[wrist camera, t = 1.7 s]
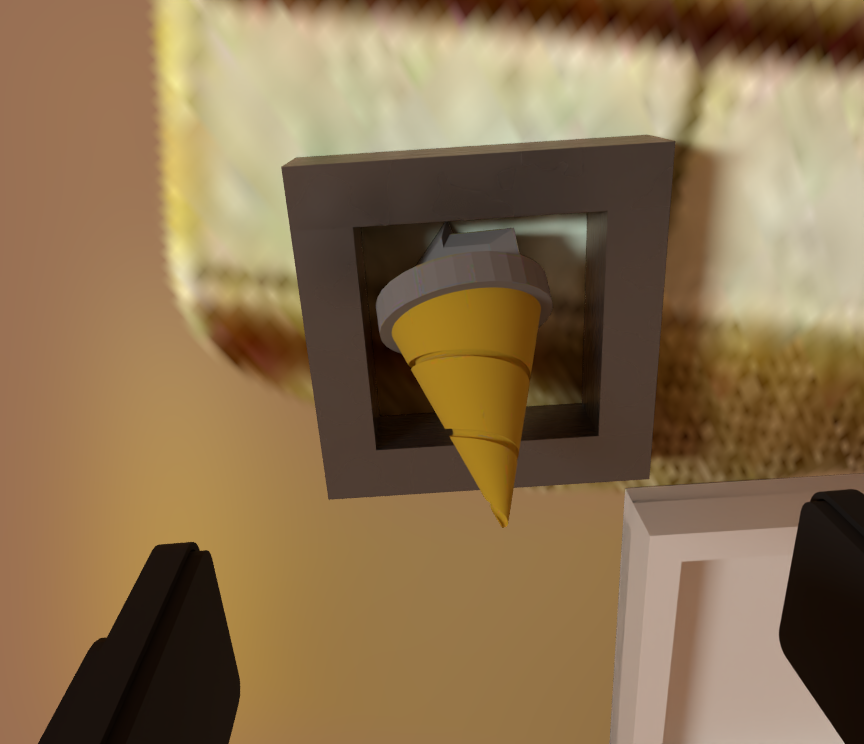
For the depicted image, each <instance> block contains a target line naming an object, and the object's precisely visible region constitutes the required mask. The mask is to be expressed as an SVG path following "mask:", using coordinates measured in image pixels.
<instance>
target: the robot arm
mask: <svg viewBox="0 0 864 744" xmlns="http://www.w3.org/2000/svg"><path fill="white" fill-rule="evenodd" d="M779 641H780V645H781V648H782V651H783V653H784V655H785V657H786V658H787V660H788V661H789V663H790V664H791V666H792V667H793V669H794V670H795V672H796V673H797V675H798V676H799V677H800V679H801V680H802V682H803V683H804V685H805V686H806V688H807V689H808V691H809V692H810V694H811V695H812V696H813V698H814V699H815V701H816V702H817V704H818V705H819V707H820V708H821V710H822V711H823V713H824V714H825V716H826V717H827V718H828V720H829V721H830V723H831V724H832V726H833V727H834V729H835V730H836V732H837V733H838V735H839V736H840V737H841V739H842V740H843V742H844V743H845V744H864V494H863V493H861V492H860V491H858V490H855V489H846V490H833V491H821V492H817V493H815V494H814V495H813V496H812V497H811V500H810V502H806V503H804V505H803V506H802V508H801V512H800V518H799V523H798V529H797V534H796V539H795V545H794V550H793V556H792V561H791V567H790V572H789V578H788V583H787V589H786V594H785V600H784V605H783V611H782V616H781V622H780V627H779ZM239 698H240V679H239V674H238V669H237V665H236V661H235V656H234V652H233V647H232V643H231V639H230V634H229V630H228V626H227V621H226V617H225V613H224V608H223V604H222V600H221V595H220V591H219V587H218V582H217V578H216V574H215V569H214V565H213V561H212V557H211V554H210V552H209V551H207V550H205V551H200V550H199V547H198V546H197V544H196V543H194V542H187V543H174V544H162V545H157V546H155V548H154V549H153V550H152V552H151V554H150V556H149V558H148V560H147V562H146V564H145V565H144V567H143V569H142V571H141V573H140V575H139V577H138V579H137V581H136V583H135V585H134V587H133V589H132V590H131V592H130V594H129V596H128V598H127V600H126V602H125V604H124V606H123V608H122V610H121V612H120V614H119V615H118V617H117V619H116V621H115V623H114V625H113V627H112V629H111V631H110V633H109V635H108V637H107V638H100V639H99V640H97V641H96V642H94V644H93V645H92V646H91V648H90V649H89V650H88V652H87V654H86V656H85V658H84V660H83V661H82V663H81V665H80V667H79V669H78V671H77V673H76V674H75V676H74V678H73V680H72V682H71V683H70V685H69V687H68V689H67V691H66V693H65V695H64V696H63V698H62V700H61V702H60V704H59V706H58V708H57V709H56V711H55V713H54V715H53V717H52V719H51V720H50V722H49V724H48V726H47V728H46V730H45V732H44V734H43V735H42V737H41V739H40V741H39V743H38V744H228V743H229V740H230V736H231V732H232V728H233V723H234V720H235V715H236V712H237V707H238V704H239Z"/></svg>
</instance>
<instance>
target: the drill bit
mask: <svg viewBox="0 0 864 744" xmlns="http://www.w3.org/2000/svg"><path fill="white" fill-rule="evenodd" d="M552 308H553V305H552V299H551V295H550V291H549V286H548V282H547V278H546V274H545V271H544V270H543V268H542V267H541V265H539V264H538V263H537V262H535V261H534V260H532V259H530V258H528V257H525V256H522V255H520V253H519V249H518V244H517V240H516V236H515V231H514V228H507V229H497V230H487V231H477V232H467V233H458V234H453V232H452V230H451V228H450V226H449V224H448V221H446V222H445V223H444V225H443V226H442V228H441V229H440V231H439V232H438V234H437V235H436V237H435V238H434V240H433V241H432V243H431V244H430V246H429V247H428V249H427V250H426V252H425V253H424V255H423V256H422V258H421V259H420V261H419V262H418V264H417V265H416V266H415V267H413V268H411V269H409V270H407V271H405V272H403V273H402V274H400V275H399V276H397V277H396V278H395V279H393V280H392V281H390V282H389V283H388V284H387V285H386V286H385V287H384V288H383V289H382V291H381V293H380V294H379V296H378V298H377V302H376V311H377V318H378V326H379V333H380V337H381V341H382V342H383V343H384V344H385V345H386V347H388V348H390V349H391V350H393V351H395V352H398V353H400V354H402V355H403V357H404V358H405V360H406V362H407V364H408V365H409V367H411V368H412V369H411V371H412V372H413V374H414V376H415V377H416V379H417V381H418V383H419V384H420V386H421V388H422V390H423V391H424V393H425V395H426V397H427V398H428V400H429V402H430V404H431V405H432V407H433V409H434V411H435V412H436V414H437V416H438V417H439V419H440V421H441V423H442V424H443V426H444V428H445V429H452V430H453V435H450V436H449V437H450V438H451V440H452V442H453V444H454V445H455V447H456V449H457V451H458V452H459V454H460V456H461V457H462V459H463V461H464V463H465V464H466V466H467V468H468V470H469V471H470V473H471V475H472V477H473V478H474V480H475V482H476V484H477V485H478V487H479V489H480V490H481V492H482V494H483V496H484V497H485V499H486V500H487V501H488V502H490V503H491V509H492V511H493V513H494V515H495V517H496V518H497V520H498V522H499V523H500V525H501V527H502V528H504V527H506V526H507V525H508V520H509V514H510V508H511V501H512V495H513V488H514V482H515V475H516V469H517V459H518V456H519V449H520V443H521V436H522V430H523V423H524V417H525V410H526V404H527V397H528V391H529V382H530V378H531V371H532V365H533V358H534V352H535V345H536V339H537V332H538V328H539V327H540V326H541V325H542V324H543V323H544V322H546V320H547V319H548V317H549V316H550V314H551V312H552Z"/></svg>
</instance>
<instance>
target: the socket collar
mask: <svg viewBox="0 0 864 744" xmlns="http://www.w3.org/2000/svg"><path fill="white" fill-rule="evenodd" d="M674 151H675V141H672V140H668V139H663V138H659V137H655V136H650V135H636V136H621V137H605V138H590V139H575V140H559V141H544V142H529V143H513V144H498V145H482V146H467V147H452V148H436V149H421V150H406V151H390V152H375V153H360V154H344V155H329V156H314V157H298V158H294V159H293V160H291V161H290V162H288V163H287V164H285V165H283V166H282V167H281V168H282V175H283V182H284V189H285V196H286V203H287V210H288V217H289V224H290V231H291V238H292V245H293V252H294V259H295V266H296V273H297V280H298V287H299V295H300V302H301V309H302V316H303V323H304V330H305V337H306V344H307V351H308V358H309V365H310V372H311V379H312V386H313V393H314V400H315V407H316V414H317V421H318V428H319V435H320V442H321V449H322V456H323V463H324V470H325V477H326V484H327V491H328V499H344V498H359V497H376V496H390V495H406V494H421V493H436V492H453V491H468V490H480V489H479V487H478V485H477V484H476V482H475V480H474V478H473V477H472V475H471V473H470V471H469V470H468V468H467V466H466V464H465V463H464V461H463V459H462V457H461V456H460V454H459V452H458V451H457V449H456V447H455V445H454V444H453V442H452V440H451V438H450V437H449V436H450V435H453V430H452V429H445V428H444V426H443V424H442V423H441V421H440V419H439V417H438V416H437V414H436V413H423V414H407V415H392V416H380V414H379V404H378V394H377V384H376V374H375V364H374V354H373V344H372V335H371V325H370V315H369V305H368V295H367V285H366V275H365V265H364V255H363V246H362V236H361V227H365V226H380V225H396V224H411V223H427V222H442V221H457V220H473V219H488V218H504V217H519V216H535V215H550V214H565V213H581V212H587V240H586V273H585V307H584V340H583V374H582V403H579V404H563V405H547V406H532V407H526V410H525V417H524V423H523V430H522V436H521V443H520V449H519V456H518V459H517V469H516V475H515V482H514V488H516V487H532V486H548V485H563V484H579V483H595V482H610V481H626V480H641V479H649V475H650V462H651V449H652V436H653V423H654V410H655V397H656V385H657V372H658V359H659V346H660V333H661V320H662V307H663V294H664V281H665V268H666V255H667V242H668V229H669V216H670V203H671V190H672V177H673V164H674Z"/></svg>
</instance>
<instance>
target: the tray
mask: <svg viewBox="0 0 864 744" xmlns="http://www.w3.org/2000/svg"><path fill="white" fill-rule="evenodd" d="M846 489H855V490H858V491H860V492H861V493H863V494H864V473H859V474H843V475H828V476H812V477H797V478H781V479H765V480H750V481H734V482H718V483H703V484H687V485H671V486H656V487H640V488H625V502H624V519H623V536H622V551H621V552H622V553H621V567H620V584H619V601H618V616H617V633H616V649H615V666H614V681H613V682H614V683H613V699H612V714H611V731H610V744H845V743H844V742H843V740H842V739H841V737H840V736H839V735H838V733H837V732H836V730H835V729H834V727H833V726H832V724H831V723H830V721H829V720H828V718H827V717H826V716H825V714H824V713H823V711H822V710H821V708H820V707H819V705H818V704H817V702H816V701H815V699H814V698H813V696H812V695H811V694H810V692H809V691H808V689H807V688H806V686H805V685H804V683H803V682H802V680H801V679H800V677H799V676H798V675H797V673H796V672H795V670H794V669H793V667H792V666H791V664H790V663H789V661H788V660H787V658H786V657H785V655H784V653H783V651H782V648H781V645H780V641H779V627H780V622H781V616H782V611H783V605H784V600H785V594H786V589H787V583H788V578H789V572H790V567H791V561H792V556H793V550H794V545H795V539H796V534H797V529H798V523H799V518H800V512H801V508H802V506H803V505H804V503H806V502H810V500H811V497H812V496H813V495H814V494H815V493H817V492H821V491H833V490H846Z"/></svg>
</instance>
